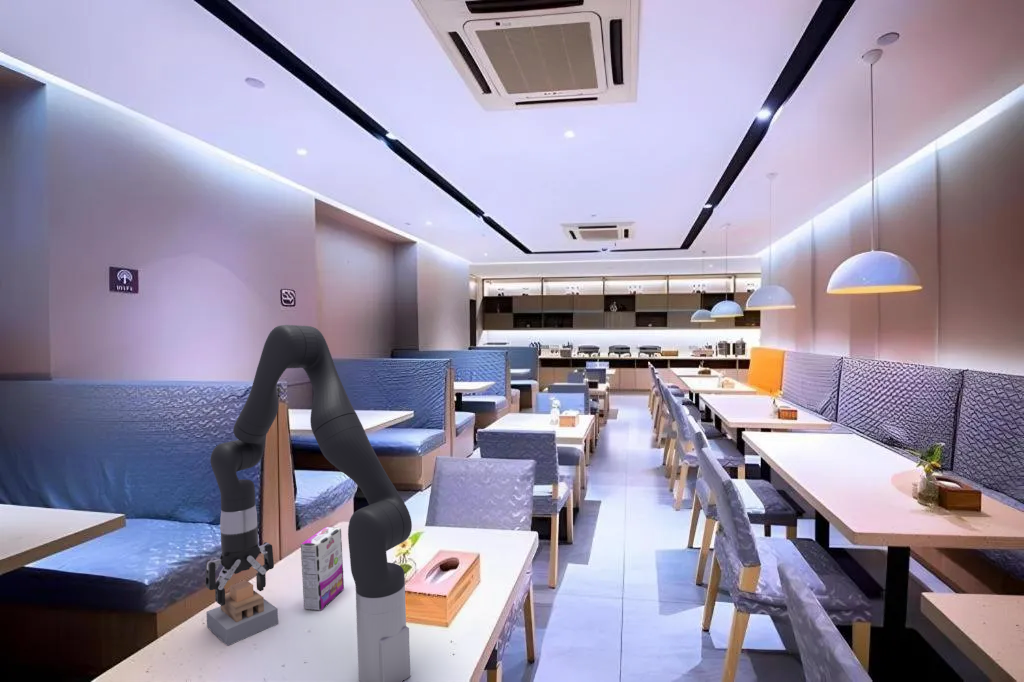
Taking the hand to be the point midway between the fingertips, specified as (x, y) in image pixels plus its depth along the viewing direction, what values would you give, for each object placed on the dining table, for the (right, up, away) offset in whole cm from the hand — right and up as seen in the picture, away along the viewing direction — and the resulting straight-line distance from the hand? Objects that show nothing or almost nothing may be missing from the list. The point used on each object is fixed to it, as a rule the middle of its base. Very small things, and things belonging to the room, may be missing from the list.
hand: (241, 596), depth 120 cm
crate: (0, 0, 0) cm, 0 cm away
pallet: (0, -3, 0) cm, 3 cm away
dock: (0, -7, 0) cm, 7 cm away
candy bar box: (+15, -6, +11) cm, 20 cm away
